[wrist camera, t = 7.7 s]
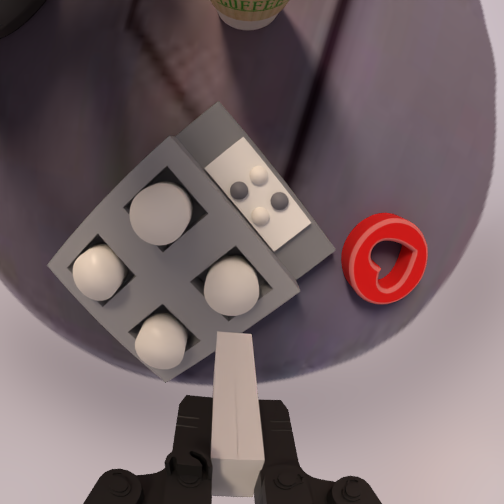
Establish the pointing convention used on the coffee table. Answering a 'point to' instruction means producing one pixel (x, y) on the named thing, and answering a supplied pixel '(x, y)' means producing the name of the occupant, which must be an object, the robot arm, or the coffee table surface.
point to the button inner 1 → (99, 272)
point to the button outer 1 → (161, 341)
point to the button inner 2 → (161, 213)
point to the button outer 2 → (231, 285)
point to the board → (199, 237)
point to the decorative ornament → (366, 270)
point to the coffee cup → (248, 12)
